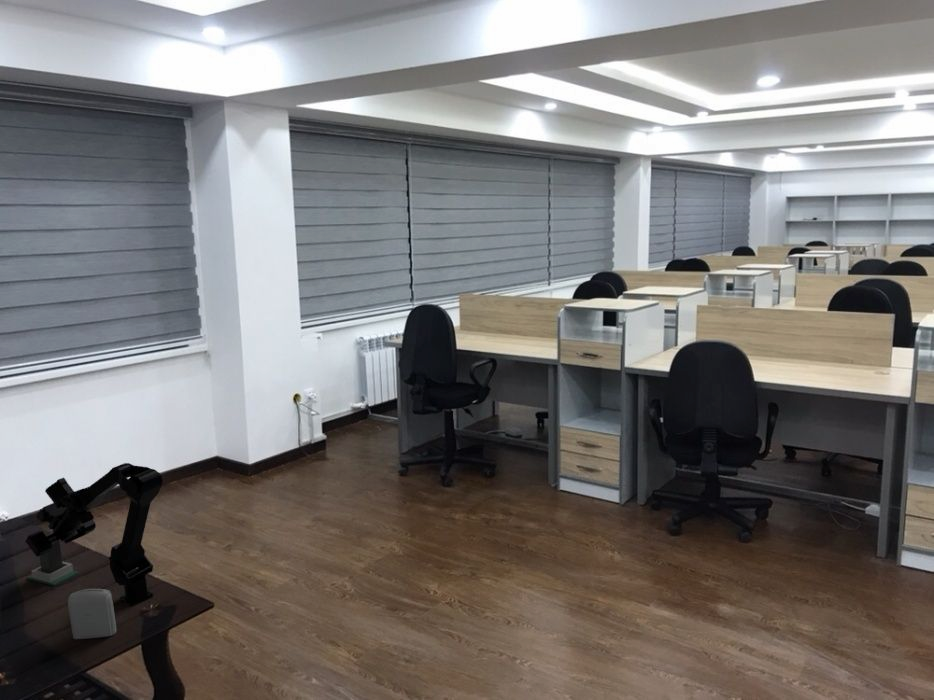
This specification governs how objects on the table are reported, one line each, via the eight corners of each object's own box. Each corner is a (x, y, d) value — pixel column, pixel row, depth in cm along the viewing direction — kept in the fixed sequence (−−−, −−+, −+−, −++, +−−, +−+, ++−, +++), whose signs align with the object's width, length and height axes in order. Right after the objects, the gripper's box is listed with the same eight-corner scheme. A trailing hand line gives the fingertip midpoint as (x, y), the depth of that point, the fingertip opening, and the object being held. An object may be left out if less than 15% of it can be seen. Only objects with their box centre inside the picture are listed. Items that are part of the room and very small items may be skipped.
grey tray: (79, 573, 221) (78, 564, 220) (54, 586, 214) (53, 577, 213) (51, 566, 226) (50, 558, 225) (27, 578, 218) (25, 569, 218)
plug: (63, 572, 220) (58, 534, 218) (51, 578, 217) (45, 540, 215) (54, 569, 222) (48, 532, 220) (41, 576, 219) (35, 538, 216)
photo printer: (70, 641, 185) (63, 595, 183) (77, 631, 190) (71, 587, 187) (113, 637, 186) (107, 592, 184) (119, 628, 191) (113, 584, 188)
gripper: (83, 485, 221) (63, 515, 227) (24, 509, 204) (4, 540, 211) (106, 514, 219) (84, 543, 225) (48, 540, 202) (27, 571, 209)
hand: (51, 548), depth 218 cm, fingers open, 9 cm apart
